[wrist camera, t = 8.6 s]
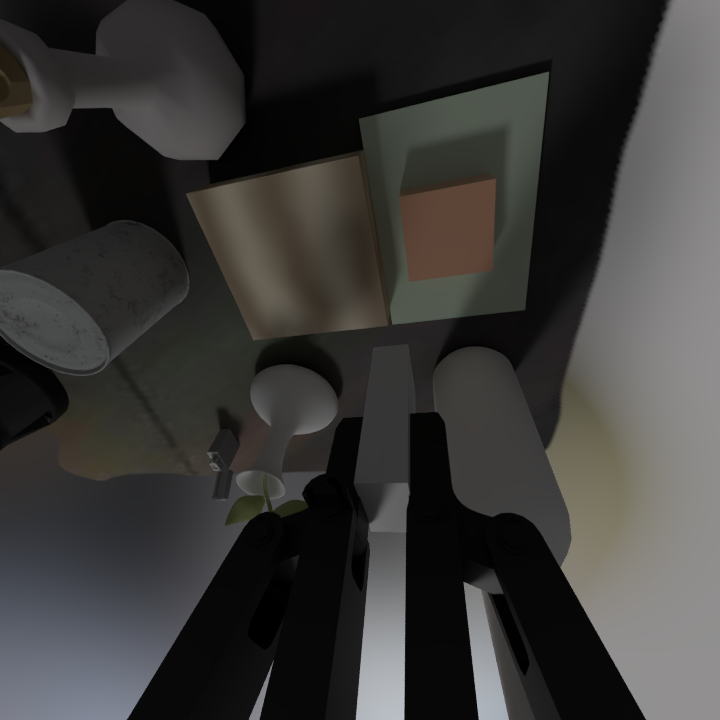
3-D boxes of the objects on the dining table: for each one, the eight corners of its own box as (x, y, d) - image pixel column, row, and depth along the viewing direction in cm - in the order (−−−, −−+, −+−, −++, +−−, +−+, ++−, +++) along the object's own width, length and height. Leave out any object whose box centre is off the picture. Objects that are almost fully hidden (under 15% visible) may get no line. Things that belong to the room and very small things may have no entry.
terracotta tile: (409, 270, 32) (409, 281, 30) (399, 190, 27) (398, 197, 25) (487, 259, 30) (492, 270, 28) (489, 172, 26) (496, 178, 24)
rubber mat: (392, 322, 36) (392, 324, 35) (359, 118, 25) (358, 118, 25) (523, 307, 33) (525, 310, 32) (546, 72, 22) (549, 71, 22)
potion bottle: (255, 19, 23) (-2, -120, 8) (259, 166, 28) (106, 231, 14) (129, -8, 23) (-342, -191, 8) (157, 145, 28) (-99, 189, 14)
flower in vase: (265, 417, 48) (163, 636, 28) (246, 354, 41) (94, 584, 21) (354, 424, 46) (313, 660, 27) (351, 359, 40) (292, 613, 20)
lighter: (219, 429, 51) (193, 475, 45) (230, 428, 50) (204, 475, 44) (237, 458, 55) (215, 503, 49) (247, 458, 55) (225, 504, 48)
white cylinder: (116, 197, 31) (-17, 239, 22) (205, 269, 35) (125, 333, 25) (87, 264, 36) (-32, 323, 26) (168, 321, 39) (89, 392, 30)
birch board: (266, 320, 38) (253, 340, 34) (210, 184, 29) (185, 193, 26) (390, 305, 35) (388, 325, 31) (364, 149, 26) (358, 155, 23)
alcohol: (470, 411, 42) (544, 800, 19) (416, 376, 40) (424, 772, 16) (528, 370, 37) (731, 827, 14) (472, 328, 35) (597, 793, 11)
